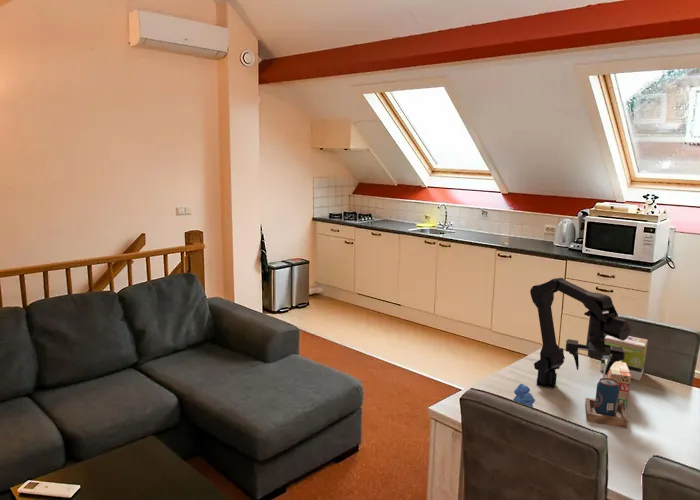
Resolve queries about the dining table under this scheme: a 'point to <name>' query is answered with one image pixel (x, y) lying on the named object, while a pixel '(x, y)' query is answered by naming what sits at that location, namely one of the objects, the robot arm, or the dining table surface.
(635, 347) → the tea box
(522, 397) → the grapes
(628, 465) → the dining table surface
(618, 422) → the brown open box
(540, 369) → the robot arm
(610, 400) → the soda can
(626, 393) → the stack of blocks
